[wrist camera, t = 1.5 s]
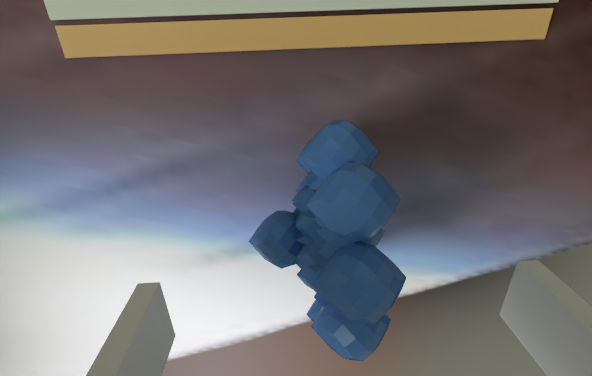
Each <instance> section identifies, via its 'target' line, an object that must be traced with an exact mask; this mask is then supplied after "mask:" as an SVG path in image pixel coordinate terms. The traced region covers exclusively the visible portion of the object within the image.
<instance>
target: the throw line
mask: <svg viewBox="0 0 592 376" xmlns="http://www.w3.org/2000/svg"><path fill="white" fill-rule="evenodd" d="M553 9H554V8H541V9H513V10H485V11H457V12H429V13H401V14H373V15H345V16H317V17H289V18H261V19H233V20H205V21H177V22H149V23H122V24H94V25H66V26H55V28H56V31H57V34H58V37H59V40H60V43H61V46H62V50H63V53H64V56H65V58H81V57H106V56H131V55H156V54H181V53H206V52H231V51H256V50H281V49H306V48H331V47H356V46H381V45H406V44H431V43H456V42H481V41H506V40H531V39H545V37H546V33H547V30H548V26H549V23H550V19H551V16H552V12H553Z"/></svg>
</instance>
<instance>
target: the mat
mask: <svg viewBox="0 0 592 376" xmlns="http://www.w3.org/2000/svg"><path fill="white" fill-rule="evenodd" d="M558 1H559V0H44V3H45V6H46V9H47V12H48V15H49V18H50V20H84V19H113V18H141V17H170V16H198V15H227V14H255V13H284V12H313V11H341V10H370V9H398V8H427V7H455V6H484V5H512V4H541V3H557V2H558Z"/></svg>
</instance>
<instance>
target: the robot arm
mask: <svg viewBox="0 0 592 376" xmlns="http://www.w3.org/2000/svg"><path fill="white" fill-rule="evenodd" d="M499 315H500V316H501V318H502V319H503V320H504V321H505V323H506V324H507V325H508V327H509V328H510V329H511V330H512V332H513V333H514V334H515V335H516V337H517V338H518V339H519V341H520V342H521V343H522V344H523V346H524V347H525V348H526V350H527V351H528V352H529V353H530V355H531V356H532V357H533V358H534V360H535V361H536V362H537V363H538V365H539V366H540V367H541V368H542V370H543V371H544V372H545V374H546V375H547V376H592V307H591V306H590V305H589V304H588V303H587V302H586V301H585V300H583V299H582V298H581V297H580V296H579V295H578V294H577V293H575V292H574V291H573V290H572V289H571V288H570V287H568V286H567V285H566V284H565V283H564V282H563V281H562V280H560V279H559V278H558V277H557V276H556V275H555V274H554V273H552V272H551V271H550V270H549V269H548V268H547V267H546V266H544V265H543V264H542V263H541V262H540V261H539V260H529V261H518V262H517V265H516V268H515V271H514V274H513V277H512V280H511V282H510V285H509V288H508V291H507V294H506V297H505V300H504V303H503V306H502V308H501V311H500V314H499ZM174 338H175V333H174V330H173V326H172V323H171V319H170V316H169V313H168V309H167V306H166V302H165V299H164V296H163V292H162V289H161V285H160V283H143V284H138V285H137V286H136V288H135V290H134V292H133V294H132V295H131V297H130V299H129V301H128V302H127V304H126V306H125V308H124V309H123V311H122V313H121V315H120V317H119V318H118V320H117V322H116V324H115V325H114V327H113V329H112V331H111V333H110V334H109V336H108V338H107V340H106V341H105V343H104V345H103V347H102V348H101V350H100V352H99V354H98V356H97V357H96V359H95V361H94V363H93V364H92V366H91V368H90V370H89V372H88V373H87V375H86V376H162V373H163V370H164V367H165V364H166V361H167V358H168V355H169V352H170V349H171V346H172V344H173V341H174Z"/></svg>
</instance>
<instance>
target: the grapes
mask: <svg viewBox="0 0 592 376" xmlns="http://www.w3.org/2000/svg"><path fill="white" fill-rule="evenodd" d="M377 154H378V151H377V150H376V148H375V147H374V145H373V144H372V143H371V141H370V140H369V139H368V137H367V136H366V135H365V134H364V132H363V131H361V130H360V129H358V128H357V127H356V126H354V125H353V124H351V123H349V122H348V121H346V120H333V121H332V122H331V123H329V124H328V125H326V126H325V127H324V128H323V129H321V130H320V131H319V132H318V133H316V135H315V136H314V137H313V139H311V140H310V141H309V142H308V144H307V145H306V147H305V148H304V150H303V151H302V152H301V154H300V155H299V157H298V158H297V162H298V163H299V164H300V165H301V166H302V167H303V169H304V170H305V171H306V172H307V173H308V175H307V177H306V178H305V179H304V181H303V182H302V183H301V185H300V186H299V188H298V189H297V195H296V196H295V197H294V199H293V200H292V201H293V202H294V203H293V204H294V205H295V206H296V209H295V210H294V212H293V213H291V212H288V211H276V212H275V213H273V214H271V215H270V216H269V217H268V218H266V219H265V220H264V221H263V222H262V224H261V225H260V226H259V228H258V229H257V230H256V232H255V233H254V235H253V236H252V238H251V239H250V241H249V242H250V243H251V244H252V245H253V247H254V248H255V249H256V250H257V251H258V252H259V253H260V254H261V255H262V256H263V257H264V259H266V260H267V261H269V262H271V263H272V264H274V265H276V266H278V267H280V268H284V267H287V266H291V265H294V264H297V265H298V266H299V267H300V268H301V270H300V272H299V273H298V274H297V275H298V277H299V278H300V279H301V280H302V281H303V282H304V283H305V284H306V285H307V286H309V287H310V288H312V289H313V290H314V291H315V292H317V293H316V295H315V296H314V298H315V299H316V300H315V302H314V303H313V305H312V306H311V308H310V310H309V311H308V313H307V315H308V316H309V318H310V319H311V320H312V321H313V324H312V328H313V329H314V330H315V331H316V332H317V334H318V335H319V336H320V337H321V338H322V339H323V340H324V341H325V342H326V344H327V345H328V346H329V347H330V348H331V349H332V350H334V351H335V352H336V353H338V354H339V355H340V356H341V357H343V358H345V359H349V360H356V361H364V360H365V359H366V358H367V357H368V356H370V355H371V354H372V353H373V352H374V351H375V350H376V348H377V347H378V346H379V344H380V342H381V340H382V338H383V337H384V335H385V333H386V331H387V328H388V326H389V324H390V321H391V319H390V318H389V316H388V315H387V314H386V312H388V310H389V309H390V308H391V307H392V306H393V304H394V302H395V300H396V299H397V297H398V295H399V293H400V291H401V289H402V287H403V284H404V282H405V280H406V277H405V275H404V274H403V273H402V272H401V271H400V269H399V268H398V267H397V266H396V265H395V264H394V263H393V262H392V261H391V260H390V259H389V258H388V257H387V256H385V255H384V254H383V253H382V252H381V251H380V250H379V249H377V248H376V245H377V244H378V242H379V240H380V238H381V237H382V235H383V233H384V232H385V231H384V230H383V229H382V227H383V226H384V225H385V224H386V222H387V221H388V219H389V217H390V216H391V214H392V212H393V211H394V209H395V207H396V205H397V204H398V202H399V200H400V198H399V197H398V196H397V194H396V193H395V192H394V190H393V189H392V188H391V186H390V185H389V184H388V183H387V181H386V180H385V179H384V178H383V176H381V175H380V174H379V173H377V172H376V171H374V170H373V169H372V168H370V167H369V166H370V165H371V163H372V162H373V160H374V158H375V157H376V155H377Z"/></svg>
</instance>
